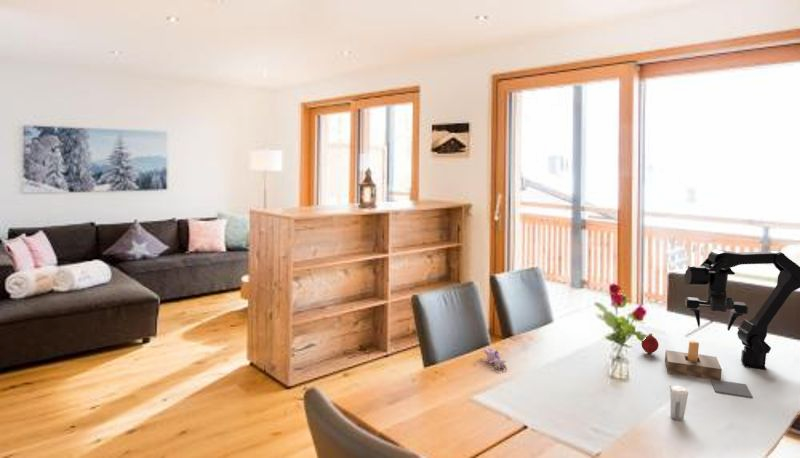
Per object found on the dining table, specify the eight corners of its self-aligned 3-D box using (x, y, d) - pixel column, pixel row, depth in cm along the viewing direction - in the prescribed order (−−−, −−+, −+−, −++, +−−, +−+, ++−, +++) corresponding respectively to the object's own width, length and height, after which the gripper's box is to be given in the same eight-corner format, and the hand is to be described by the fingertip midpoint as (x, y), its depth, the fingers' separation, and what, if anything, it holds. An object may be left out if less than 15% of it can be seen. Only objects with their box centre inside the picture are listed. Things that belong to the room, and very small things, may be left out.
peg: (695, 369, 187) (698, 341, 185) (696, 372, 184) (699, 344, 182) (686, 367, 188) (688, 340, 186) (687, 371, 185) (689, 343, 184)
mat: (745, 385, 174) (745, 384, 174) (752, 398, 164) (752, 396, 164) (710, 380, 177) (710, 379, 177) (715, 392, 168) (715, 391, 168)
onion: (659, 357, 197) (661, 336, 196) (642, 356, 199) (644, 335, 198) (655, 351, 203) (656, 331, 202) (639, 350, 204) (640, 330, 203)
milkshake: (662, 414, 153) (664, 381, 152) (679, 413, 154) (682, 380, 153) (671, 422, 149) (674, 388, 148) (689, 421, 149) (692, 387, 148)
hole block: (715, 367, 188) (716, 356, 188) (720, 380, 177) (721, 369, 177) (664, 360, 194) (665, 350, 194) (667, 372, 183) (668, 361, 183)
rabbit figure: (510, 374, 185) (494, 352, 198) (512, 359, 183) (495, 337, 197) (493, 375, 183) (478, 353, 197) (495, 360, 181) (479, 339, 195)
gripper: (690, 288, 185) (686, 331, 187) (753, 294, 177) (748, 339, 180) (686, 281, 195) (683, 322, 197) (746, 286, 188) (742, 329, 190)
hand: (713, 328), depth 190 cm, fingers open, 9 cm apart
